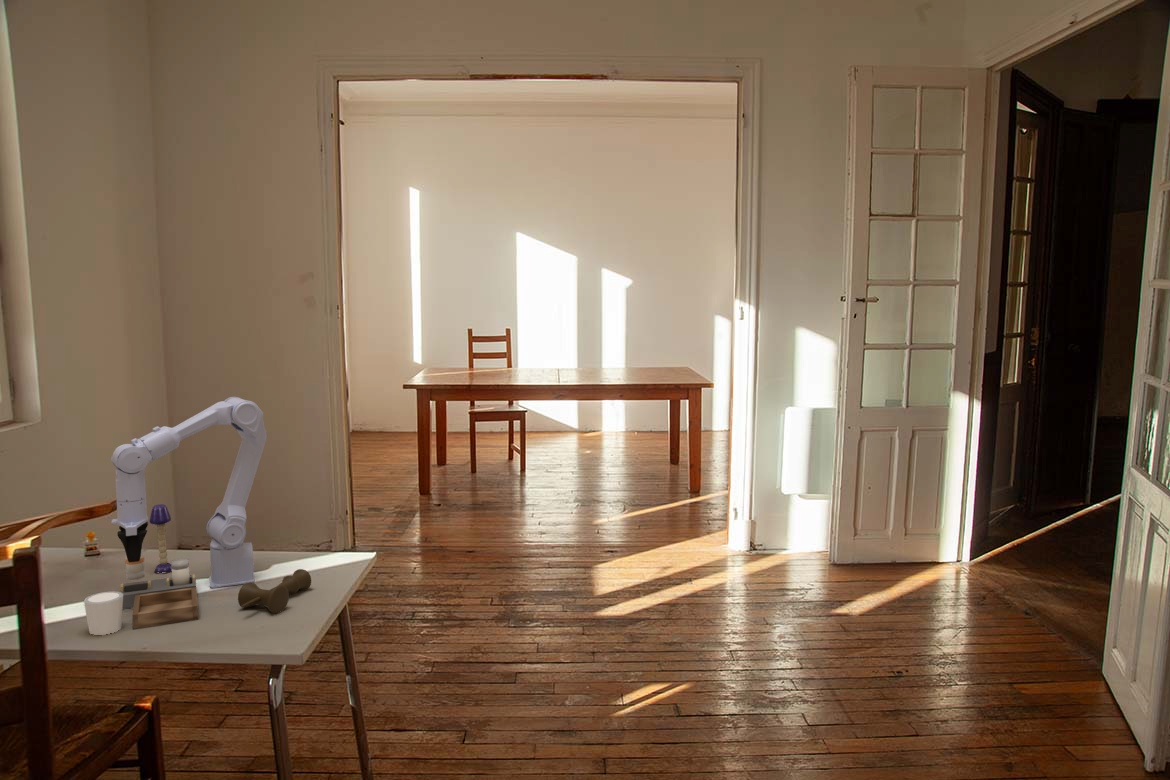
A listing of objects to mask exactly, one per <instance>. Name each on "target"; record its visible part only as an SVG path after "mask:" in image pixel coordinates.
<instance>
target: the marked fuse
mask: <svg viewBox="0 0 1170 780" xmlns="http://www.w3.org/2000/svg"><path fill="white" fill-rule="evenodd" d="M124 564H125V578H126V580H130V581H135V580H140V579H143V578H144V577H146V576H145V575H146V574H145V573H146V572H145V571H146V570H145V553H144V542H143V543H142V549H141V557H140V561H138V562H130V563H129V562H128V559H127V556H126V552H125V551H124Z"/></svg>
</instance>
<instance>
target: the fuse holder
mask: <svg viewBox="0 0 1170 780" xmlns="http://www.w3.org/2000/svg"><path fill="white" fill-rule="evenodd" d="M196 577H197V576H196V574H195V573H194V574H190V584H186V585H179V586H172V577H166V578H164V577H163V578H158V579H148V580H143V581H142V580H141V581H135V582H127V583H120V587H119V589H120V591H119V592H121V593H122V594H123V607H122V610H124V609H130V608H132V609H133V607H134V599H135V595H141V594H149V593H156V592H164V591H171V590H178V589H186V588H193V587H196V588H197V581H196V579H197V578H196Z"/></svg>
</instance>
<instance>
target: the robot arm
mask: <svg viewBox="0 0 1170 780" xmlns="http://www.w3.org/2000/svg"><path fill="white" fill-rule="evenodd" d="M264 415H265V414H264V412H263V410H261V408H260V407H259V406H258V404H257V403H256V402H254V401H252V400H246V399H243V398H241V397H239V396H231V397H227V398H225V400H224V401H223V400H222V401H218V402H216V403H215V404H212V405H211V406H209V407H208V408H205V409H204V410H202V411H200V412H199V413H197V414H195V415H193V416H192V417H189V418H188V419H186V420H184V421H182V422H181V423H179V424H177V425H175V426H173V427H170V426H165V425H164V426H162V427H160V426H158V425H157V426H155V427H153V428H152V431H151V432H149V433H148V434H145V435H143V436H142V437H139V438H136V437H135V438H133V439H131V441H130V442H131V443H124V444H121V445H119V446H118V447H115V449H114V451H113V453H112V455H111V457H110V461H111V463H112V465H113V466H114V467H115V480H114V481H115V493H116V495H115V498H116V513H117V514H116V515H117V516H116V517H117V518H113V519H111V524H112V525H118V526H119V528H118V529H119V531H117V537H118V540H120V541H121V543H122V546H123V547H124V548H123V549H124V553H125V552H126V556H127V559H128V562H129V563H130V562H138V561H140V557H141V549H142V543H143V544H144V539H145V537H146V536H147V534H148V533H147V532H148V530H147V528H148V526H149V522H148V521H149V516H148V505H147V487H146V484H147V483H146V476H145V469H146V467H147V466H148V464H149V463H151V462H153V461H155V460H157V459H159V458H161V457H163V456H165V455H167V454H168V453H171V452H172V451H175V450H176V449H178V448H179V446H180V443H181V441H182V440H184V439H187V438H189V437H191V436H193V435H195V434H197V433H199V432H202V431H204V430H206V429H207V428H210V427H213V426H214V425H221V426H222V425H223V426H225V425H226V426H232V427H233V428H234V429H235V430H236V432H237V433H238V435H239V436H240V438H241V442H240V445H239V448H238V452H237V455H236V458H235V460H234V464H233V467H232V470H231V474H230V477H229V480H228V483H227V487H226V490H225V493H224V496H223V498H222V502H221V503H220V504H219V505H218V506H217V507H216V509H215V511H214V514H213V515H212V516H211V518H210V519H209V520H208V522H207V524H206V532H207V534H208V536H209V537H210V538H211V542H210V544H209V548H210V549H209V550H210V551H209V553H210V555H209V557H210V576H208V579H209V587H210V589H215V588H222V587H229V586H236V585H237V586H238V585H244V584H246V583H250V582H252V583H255V578H254V577H255V576H254V574H255V565H254V549H253V542H250V541H249V542H245V538H246V536H247V529H246V524H247V520H248V519H247V512H246V511H247V510H246V508H247V507H246V506H247V503H248V501H249V500H248V499H249V496H250V494H251V490H252V487H253V483H254V480H255V477H256V475H257V471H258V468H259V465H260V461H261V458H262V456H263V452H264V449H265V447H266V446H265V445H266V442H267V438H268V435H267V434H268V433H267V429H266V426H265V422H264Z"/></svg>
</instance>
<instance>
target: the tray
mask: <svg viewBox="0 0 1170 780" xmlns="http://www.w3.org/2000/svg"><path fill="white" fill-rule="evenodd" d="M197 593H198V592H197V586H196V587H193V588H186V589H178V590H171V591H164V592H156V593H149V594H141V595H135V599H134V607H132V629H133V630H137V629H138V630H139V629H144V628H150V627H157V625H158V626H163V625H171V624H178V623H183V622H191V621H197V620H199V610H198V609H199V608H198V596H197V595H198V594H197Z"/></svg>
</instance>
